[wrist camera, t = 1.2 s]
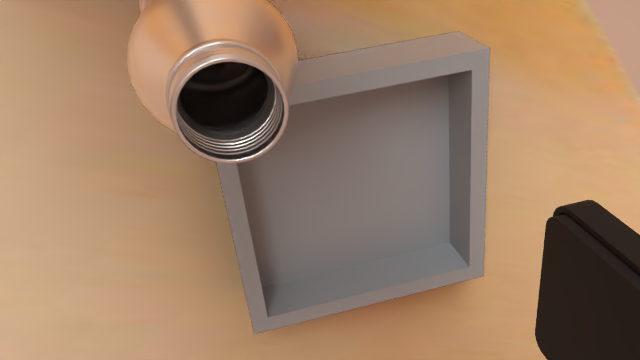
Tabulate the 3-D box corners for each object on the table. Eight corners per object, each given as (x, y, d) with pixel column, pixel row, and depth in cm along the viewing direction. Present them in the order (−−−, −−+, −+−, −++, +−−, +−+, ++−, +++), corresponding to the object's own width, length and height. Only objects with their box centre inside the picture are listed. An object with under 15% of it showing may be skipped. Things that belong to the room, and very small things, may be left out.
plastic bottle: (237, 61, 38) (302, 218, 21) (129, 34, 36) (100, 184, 18) (265, -40, 36) (364, 41, 18) (150, -77, 33) (140, -23, 16)
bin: (198, 79, 38) (202, 102, 34) (458, 31, 41) (490, 47, 37) (246, 295, 47) (254, 334, 43) (458, 244, 49) (483, 276, 45)
